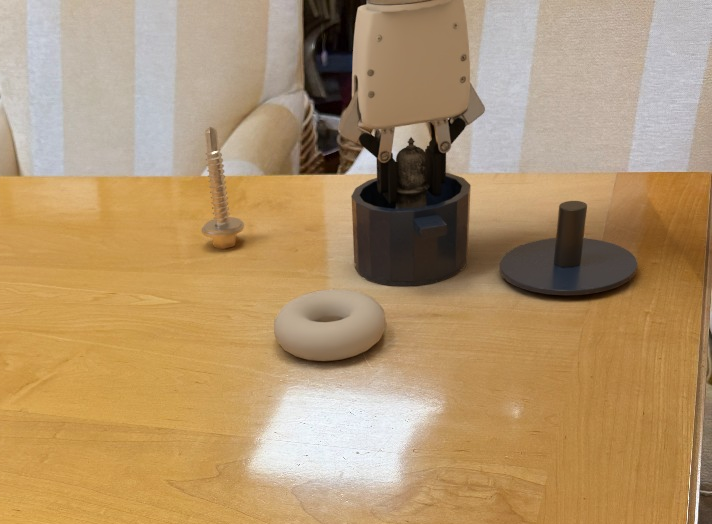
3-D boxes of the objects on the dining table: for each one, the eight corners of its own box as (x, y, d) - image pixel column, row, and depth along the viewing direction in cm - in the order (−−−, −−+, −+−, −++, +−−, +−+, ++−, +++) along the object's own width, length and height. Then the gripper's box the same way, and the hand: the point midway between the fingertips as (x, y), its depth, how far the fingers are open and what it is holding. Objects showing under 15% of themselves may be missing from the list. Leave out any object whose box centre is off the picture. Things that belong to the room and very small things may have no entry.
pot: (441, 226, 100) (442, 156, 95) (491, 286, 87) (495, 209, 82) (340, 242, 100) (337, 173, 96) (374, 305, 87) (372, 228, 82)
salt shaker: (410, 275, 90) (409, 151, 83) (370, 259, 94) (366, 140, 87) (453, 256, 92) (456, 133, 85) (412, 242, 96) (412, 124, 89)
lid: (601, 240, 92) (610, 174, 88) (660, 288, 82) (672, 217, 78) (481, 259, 92) (485, 194, 88) (525, 310, 82) (531, 239, 78)
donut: (252, 349, 83) (333, 379, 76) (248, 314, 81) (331, 342, 74) (327, 308, 88) (410, 333, 81) (325, 274, 86) (409, 297, 79)
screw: (201, 254, 103) (207, 237, 106) (243, 251, 102) (248, 235, 105) (183, 135, 95) (191, 122, 99) (229, 131, 94) (235, 118, 98)
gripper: (491, -37, 81) (482, 170, 92) (307, -7, 81) (320, 196, 92) (521, -27, 75) (508, 194, 86) (323, 6, 75) (334, 222, 86)
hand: (411, 193), depth 89 cm, fingers closed on salt shaker, 3 cm apart
